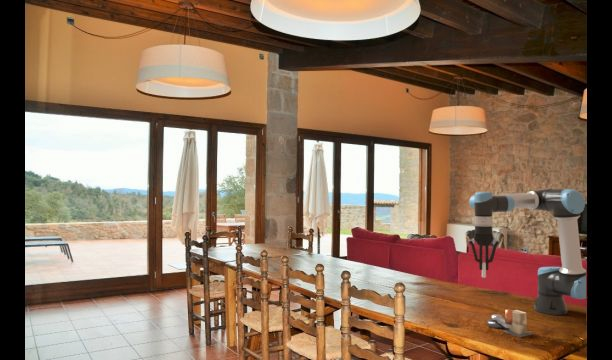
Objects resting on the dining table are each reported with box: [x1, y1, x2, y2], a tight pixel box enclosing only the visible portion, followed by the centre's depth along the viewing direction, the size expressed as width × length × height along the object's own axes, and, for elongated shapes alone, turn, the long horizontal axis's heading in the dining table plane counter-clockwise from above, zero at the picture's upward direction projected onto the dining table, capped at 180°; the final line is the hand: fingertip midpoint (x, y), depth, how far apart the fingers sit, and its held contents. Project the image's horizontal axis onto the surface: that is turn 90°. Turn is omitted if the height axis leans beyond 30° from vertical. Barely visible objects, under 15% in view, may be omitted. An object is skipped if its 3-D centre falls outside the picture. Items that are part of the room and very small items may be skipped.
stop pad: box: [502, 328, 534, 338], centre depth 199 cm, size 9×9×1 cm
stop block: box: [508, 309, 527, 335], centre depth 199 cm, size 5×5×9 cm
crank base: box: [486, 318, 506, 330], centre depth 209 cm, size 9×9×2 cm
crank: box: [490, 308, 513, 329], centre depth 204 cm, size 15×5×8 cm, turn 3°
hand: (483, 277), depth 202 cm, fingers closed
